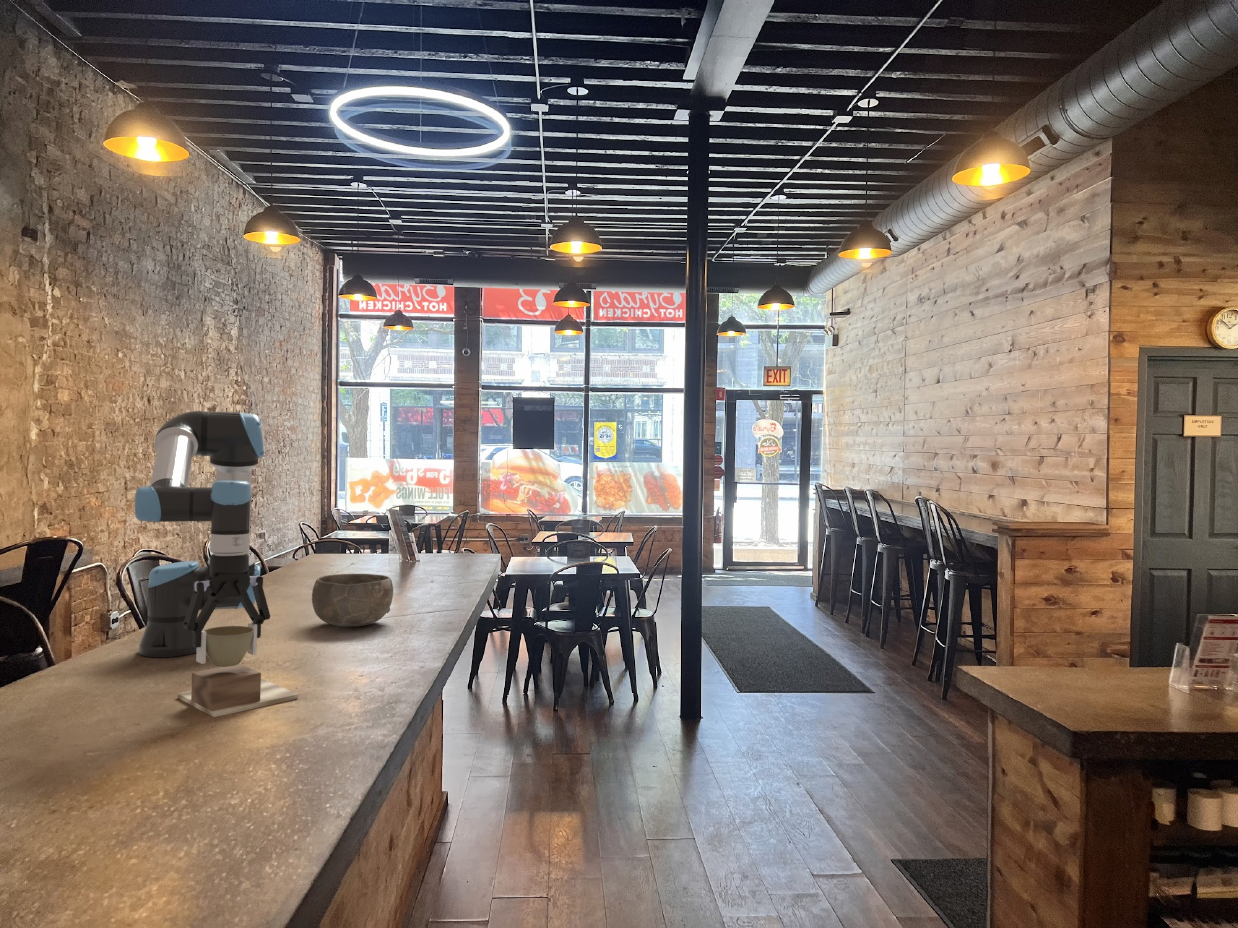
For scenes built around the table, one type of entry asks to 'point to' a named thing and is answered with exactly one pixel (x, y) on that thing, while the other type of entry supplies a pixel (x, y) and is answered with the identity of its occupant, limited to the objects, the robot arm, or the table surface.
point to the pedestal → (225, 687)
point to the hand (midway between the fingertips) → (226, 657)
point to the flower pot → (227, 644)
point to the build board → (267, 697)
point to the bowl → (352, 598)
